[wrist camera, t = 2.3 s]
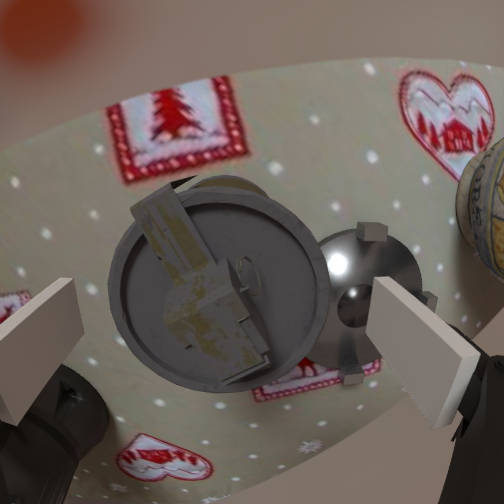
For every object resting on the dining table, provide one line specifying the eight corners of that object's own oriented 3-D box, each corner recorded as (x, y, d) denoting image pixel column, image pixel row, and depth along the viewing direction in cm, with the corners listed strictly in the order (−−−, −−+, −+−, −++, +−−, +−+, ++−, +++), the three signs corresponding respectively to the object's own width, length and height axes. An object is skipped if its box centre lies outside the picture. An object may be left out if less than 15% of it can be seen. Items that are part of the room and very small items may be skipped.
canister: (296, 249, 32) (382, 365, 13) (206, 298, 33) (182, 452, 13) (244, 151, 29) (268, 123, 10) (149, 206, 30) (34, 272, 11)
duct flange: (271, 372, 36) (275, 391, 32) (276, 218, 31) (282, 224, 28) (406, 358, 37) (418, 373, 33) (431, 222, 32) (449, 228, 29)
